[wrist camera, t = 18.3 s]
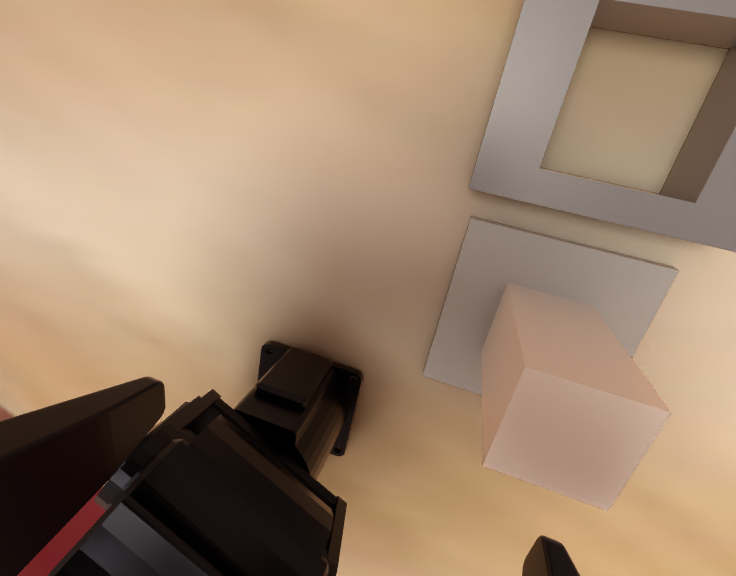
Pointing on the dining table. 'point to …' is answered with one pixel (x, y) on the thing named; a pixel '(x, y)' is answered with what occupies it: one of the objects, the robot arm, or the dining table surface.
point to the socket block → (545, 98)
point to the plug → (563, 399)
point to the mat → (542, 273)
